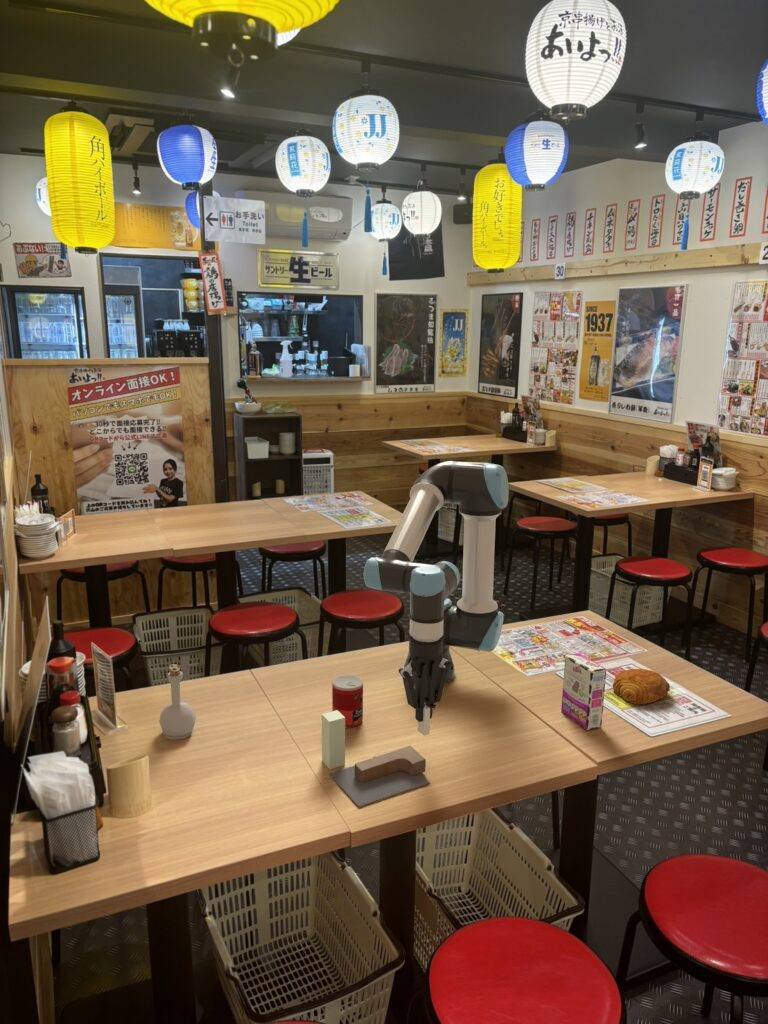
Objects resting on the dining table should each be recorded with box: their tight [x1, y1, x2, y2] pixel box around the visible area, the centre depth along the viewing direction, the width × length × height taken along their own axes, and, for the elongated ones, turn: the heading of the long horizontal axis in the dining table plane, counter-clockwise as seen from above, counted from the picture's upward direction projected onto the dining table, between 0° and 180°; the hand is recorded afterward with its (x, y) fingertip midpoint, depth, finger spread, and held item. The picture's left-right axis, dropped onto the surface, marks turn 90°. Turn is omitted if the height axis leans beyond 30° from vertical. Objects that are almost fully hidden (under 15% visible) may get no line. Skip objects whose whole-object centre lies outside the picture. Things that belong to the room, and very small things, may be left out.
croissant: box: [612, 668, 670, 705], centre depth 207 cm, size 14×16×8 cm
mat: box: [328, 765, 431, 809], centre depth 164 cm, size 18×14×1 cm
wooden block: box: [354, 745, 427, 783], centre depth 165 cm, size 7×3×15 cm
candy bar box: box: [560, 652, 607, 731], centre depth 190 cm, size 11×5×16 cm, turn 23°
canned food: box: [331, 675, 364, 729], centre depth 189 cm, size 8×8×11 cm
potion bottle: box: [158, 663, 197, 741], centre depth 181 cm, size 9×9×18 cm
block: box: [321, 710, 346, 770], centre depth 169 cm, size 4×4×12 cm
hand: (423, 732), depth 168 cm, fingers closed
